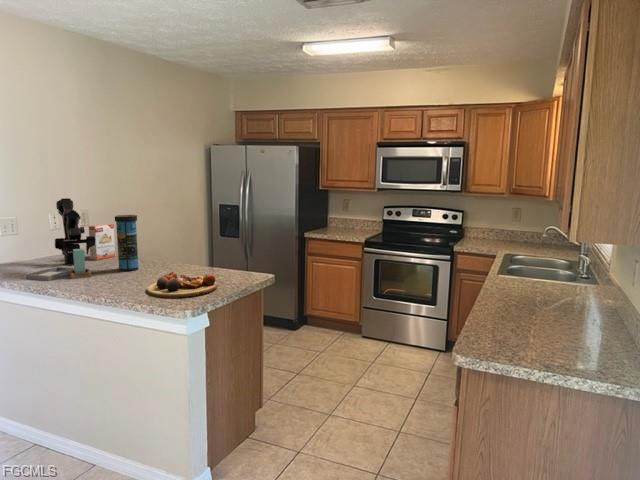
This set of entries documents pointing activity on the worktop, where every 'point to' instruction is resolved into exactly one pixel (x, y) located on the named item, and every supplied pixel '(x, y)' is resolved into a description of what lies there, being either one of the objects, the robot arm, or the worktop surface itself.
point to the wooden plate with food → (182, 286)
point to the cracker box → (102, 241)
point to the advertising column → (127, 242)
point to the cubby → (80, 274)
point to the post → (79, 260)
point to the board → (50, 273)
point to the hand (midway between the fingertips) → (77, 254)
